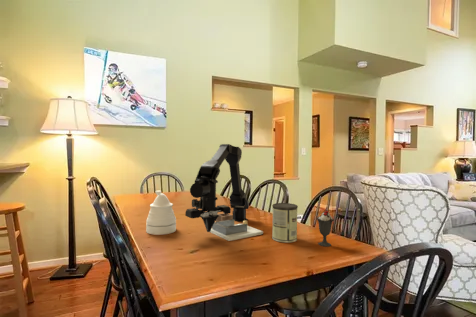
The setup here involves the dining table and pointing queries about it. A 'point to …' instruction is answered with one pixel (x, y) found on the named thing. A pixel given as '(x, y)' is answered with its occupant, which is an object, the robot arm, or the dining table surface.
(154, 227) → the honey pot
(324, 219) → the sundae
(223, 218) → the hollow wooden box
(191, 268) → the dining table surface
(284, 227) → the coffee can
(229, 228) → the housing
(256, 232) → the base board
